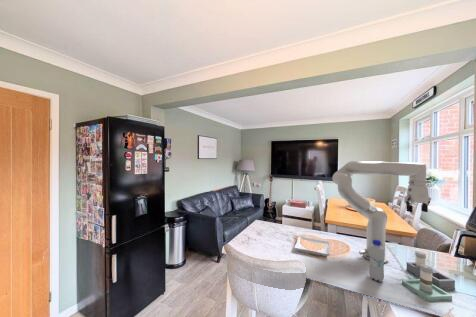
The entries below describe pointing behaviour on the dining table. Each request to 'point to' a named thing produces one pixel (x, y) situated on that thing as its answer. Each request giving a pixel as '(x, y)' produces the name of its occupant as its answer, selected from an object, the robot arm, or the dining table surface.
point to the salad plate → (320, 252)
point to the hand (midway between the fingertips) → (416, 211)
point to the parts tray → (435, 296)
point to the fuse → (420, 258)
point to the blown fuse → (426, 278)
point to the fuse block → (434, 277)
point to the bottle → (376, 261)
